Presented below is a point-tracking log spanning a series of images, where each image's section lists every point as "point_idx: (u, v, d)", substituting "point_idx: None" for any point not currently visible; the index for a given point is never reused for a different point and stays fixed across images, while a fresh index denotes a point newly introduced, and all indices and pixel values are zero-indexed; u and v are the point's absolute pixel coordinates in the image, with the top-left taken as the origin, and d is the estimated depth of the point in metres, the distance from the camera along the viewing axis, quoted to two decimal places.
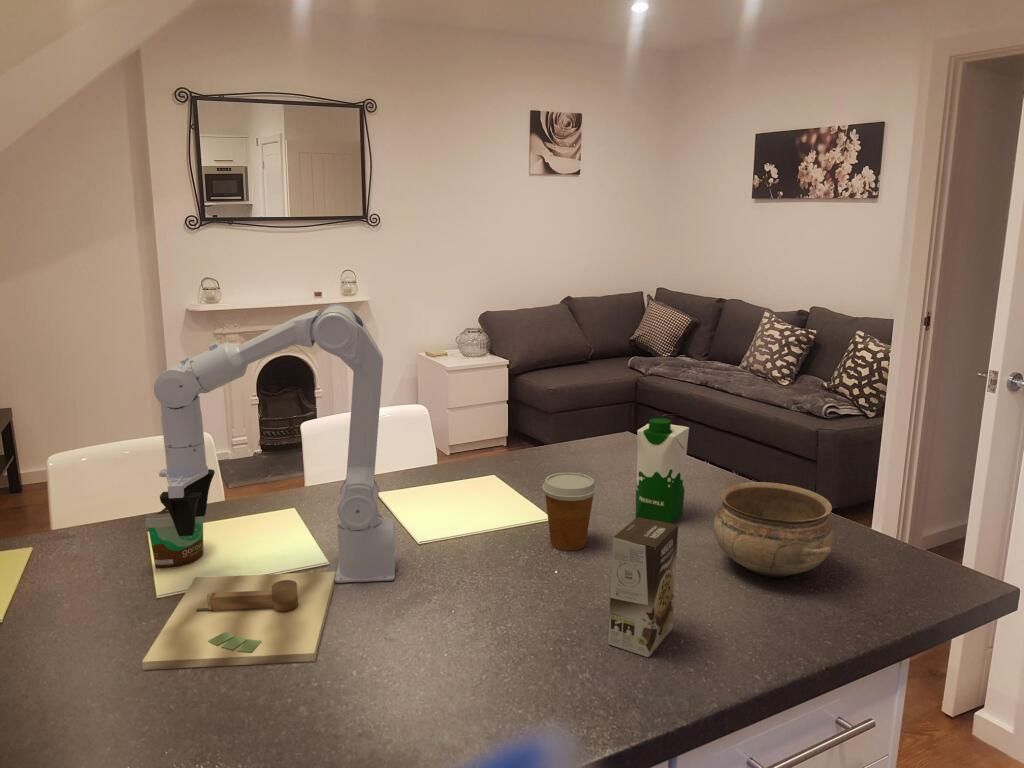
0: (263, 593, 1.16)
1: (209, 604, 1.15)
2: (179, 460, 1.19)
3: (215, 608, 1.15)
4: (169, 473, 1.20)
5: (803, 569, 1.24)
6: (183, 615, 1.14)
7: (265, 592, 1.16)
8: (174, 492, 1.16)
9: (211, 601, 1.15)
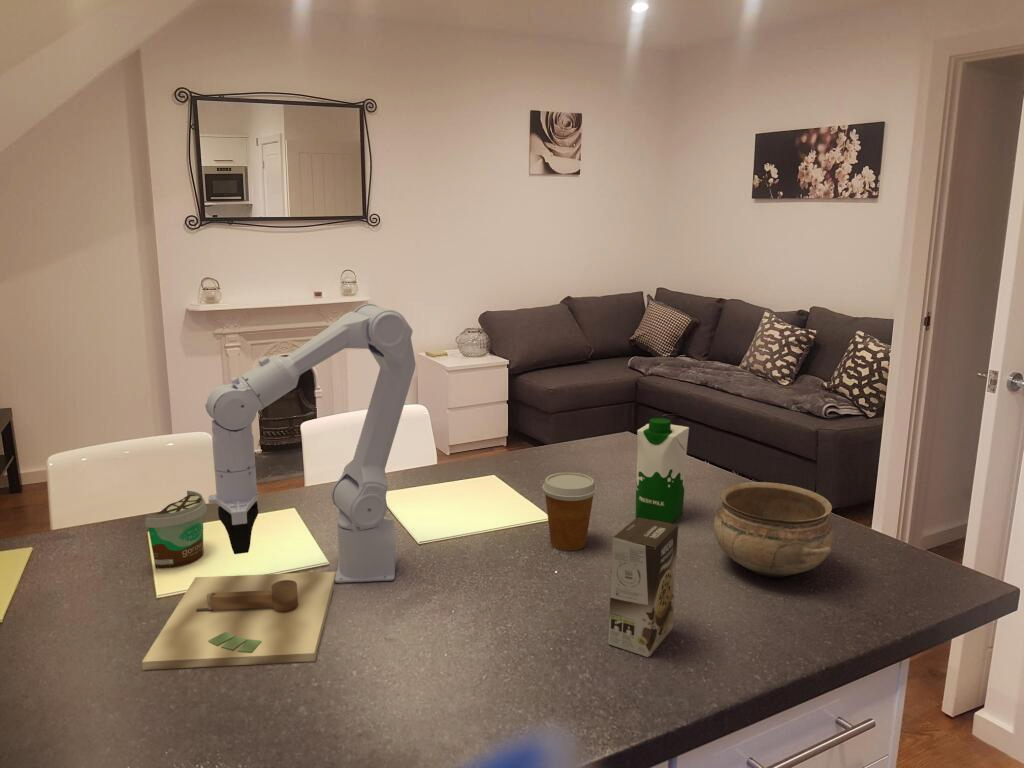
0: (263, 593, 1.16)
1: (209, 604, 1.15)
2: (234, 485, 1.14)
3: (215, 608, 1.15)
4: (222, 499, 1.15)
5: (803, 569, 1.24)
6: (183, 615, 1.14)
7: (265, 592, 1.16)
8: (239, 518, 1.11)
9: (211, 601, 1.15)
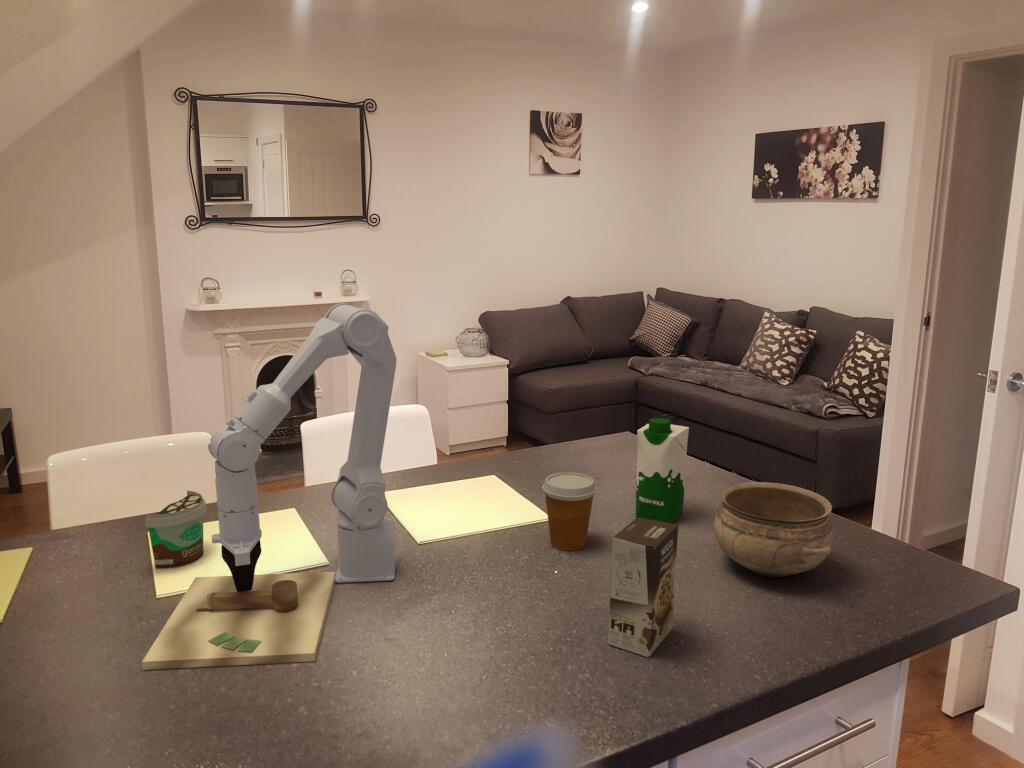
0: (263, 593, 1.16)
1: (209, 604, 1.15)
2: (237, 525, 1.15)
3: (215, 608, 1.15)
4: (225, 539, 1.16)
5: (803, 569, 1.24)
6: (183, 615, 1.14)
7: (265, 592, 1.16)
8: (242, 559, 1.12)
9: (211, 601, 1.15)
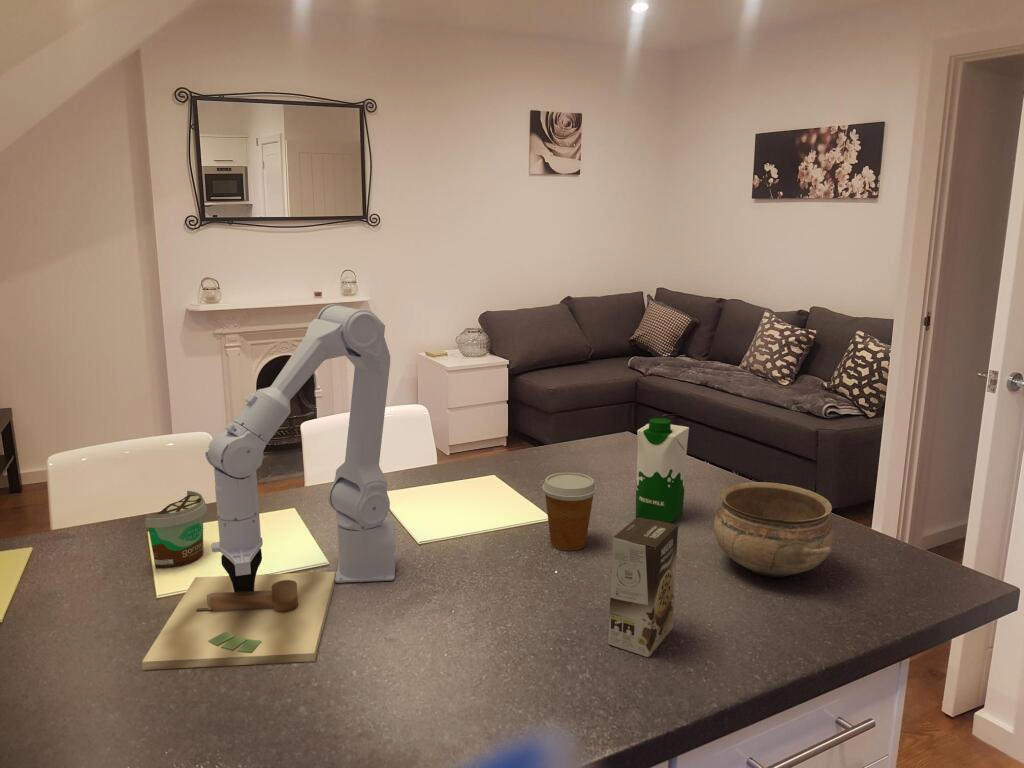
0: (263, 594, 1.16)
1: (209, 604, 1.15)
2: (238, 534, 1.12)
3: (215, 608, 1.15)
4: (225, 547, 1.13)
5: (803, 569, 1.24)
6: (183, 615, 1.14)
7: (265, 592, 1.16)
8: (242, 569, 1.09)
9: (211, 601, 1.15)
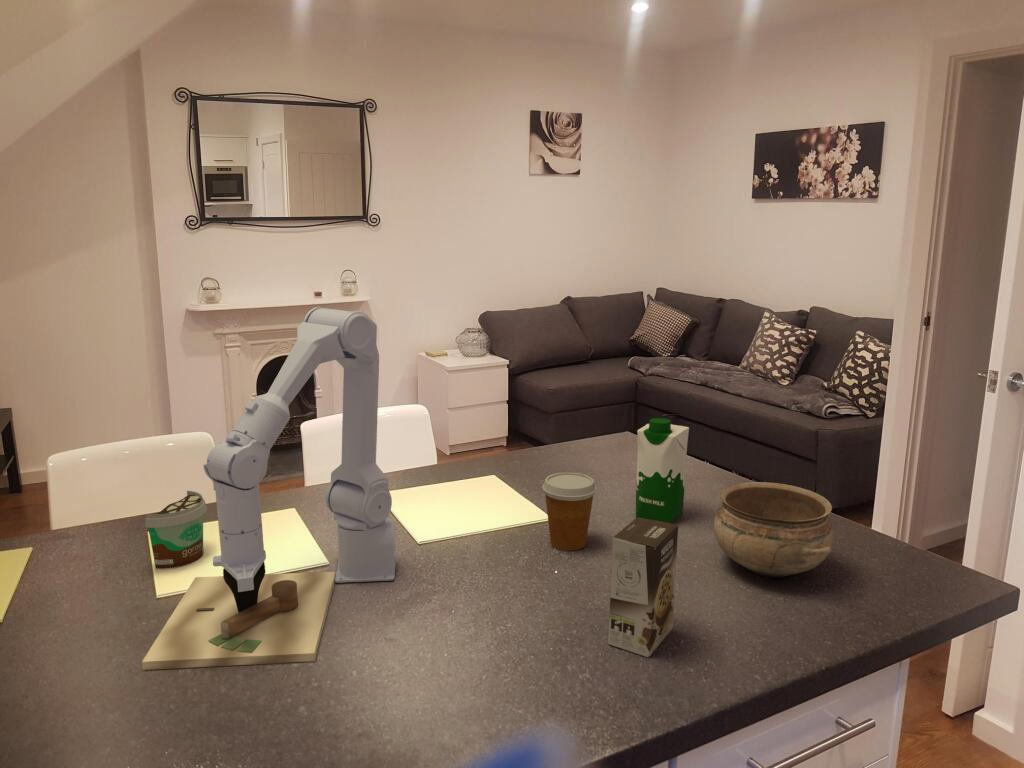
0: (270, 600, 1.14)
1: (227, 632, 1.07)
2: (240, 547, 1.08)
3: (233, 634, 1.08)
4: (227, 562, 1.08)
5: (803, 569, 1.24)
6: (183, 615, 1.14)
7: (269, 599, 1.14)
8: (245, 585, 1.04)
9: (229, 628, 1.07)
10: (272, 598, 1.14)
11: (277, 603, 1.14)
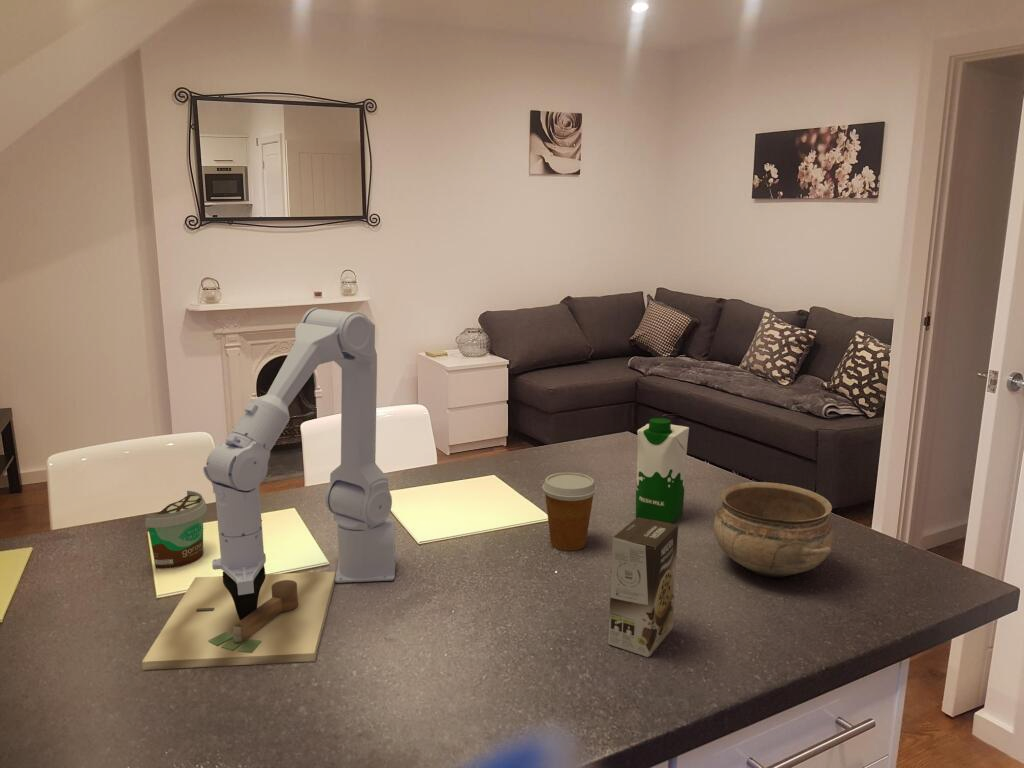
0: (274, 601, 1.13)
1: (240, 636, 1.07)
2: (240, 550, 1.07)
3: (245, 637, 1.07)
4: (227, 565, 1.07)
5: (803, 569, 1.24)
6: (183, 615, 1.14)
7: (272, 600, 1.14)
8: (245, 588, 1.04)
9: (242, 631, 1.07)
10: (275, 599, 1.14)
11: (280, 603, 1.14)
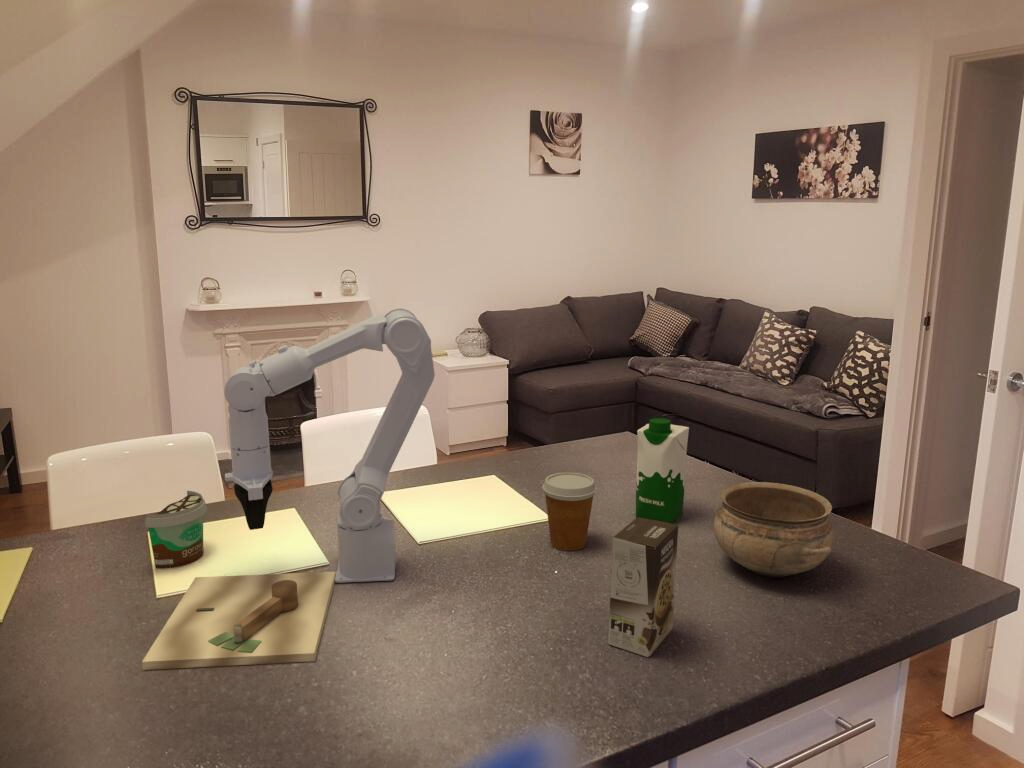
0: (274, 601, 1.13)
1: (241, 636, 1.06)
2: (250, 463, 1.20)
3: (246, 637, 1.07)
4: (238, 476, 1.20)
5: (803, 569, 1.24)
6: (183, 615, 1.14)
7: (272, 600, 1.14)
8: (255, 494, 1.16)
9: (243, 631, 1.07)
10: (275, 599, 1.14)
11: (280, 603, 1.14)
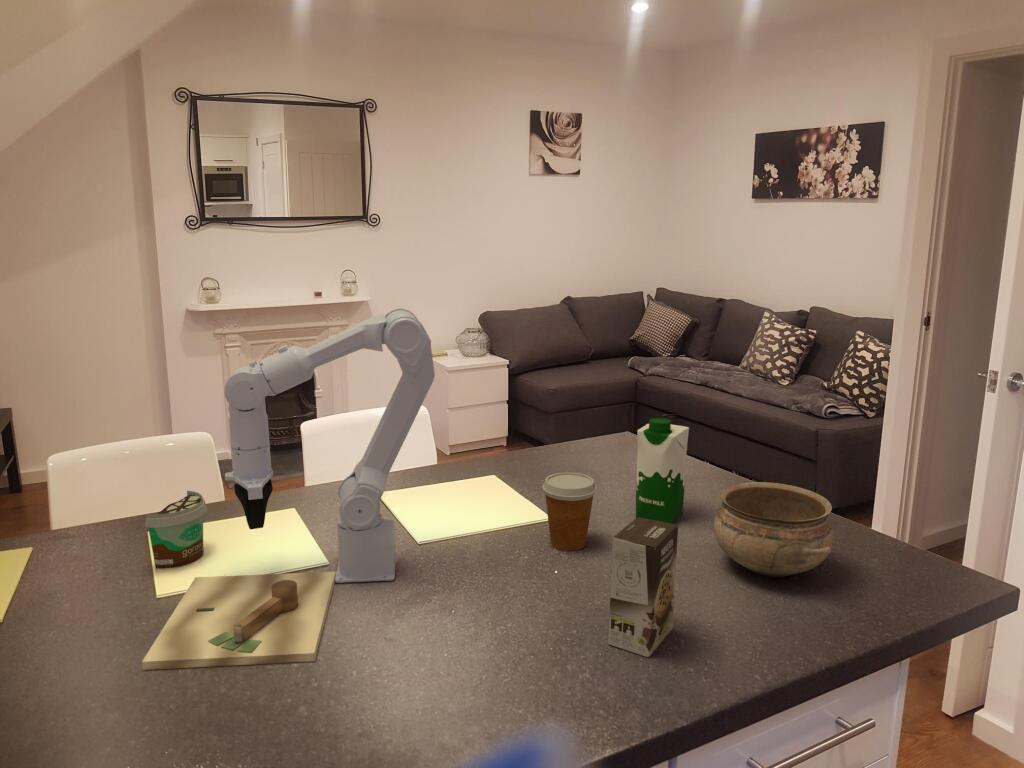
0: (274, 601, 1.13)
1: (241, 636, 1.06)
2: (250, 462, 1.20)
3: (246, 637, 1.07)
4: (238, 476, 1.20)
5: (803, 569, 1.24)
6: (183, 615, 1.14)
7: (272, 600, 1.14)
8: (255, 493, 1.17)
9: (243, 631, 1.07)
10: (275, 599, 1.14)
11: (280, 603, 1.14)
